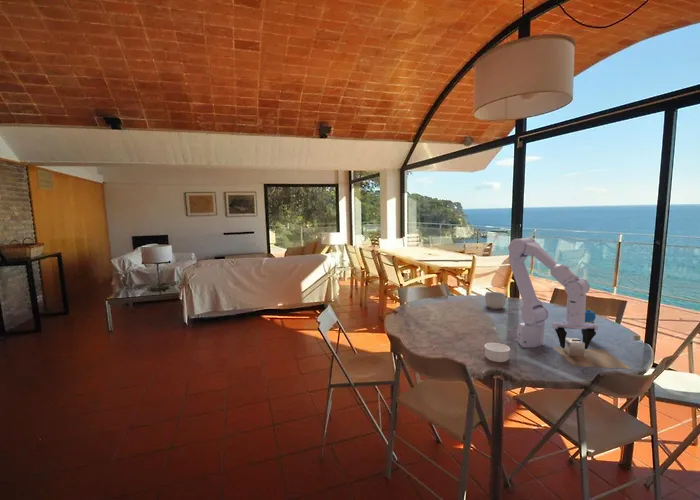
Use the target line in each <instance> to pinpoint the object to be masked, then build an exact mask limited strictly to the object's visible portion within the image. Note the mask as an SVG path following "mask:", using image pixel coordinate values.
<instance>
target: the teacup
mask: <svg viewBox="0 0 700 500" xmlns="http://www.w3.org/2000/svg"><path fill="white" fill-rule="evenodd" d="M484 296H485V297H484V298H485V300H484V301H485V305H486V306H487V307H488V308H489V309H493V310H501V309H503V308H504V307H505V305H506V301H507V300H506V298H507V297H506V296H507V295H506V294H505V293H503V292H498V291H486V292H485V293H484Z"/></svg>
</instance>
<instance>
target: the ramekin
mask: <svg viewBox="0 0 700 500" xmlns="http://www.w3.org/2000/svg"><path fill="white" fill-rule="evenodd" d="M483 347H484V352H485V353H484V354H485V358H486V359H487V360H490V361H491V362H495V363H505V362H507V361H508V360H509V358H510V357H509V356H510V351H511V347H509V346H508V345H507V344H503V343H499V342H487V343H485V344H484V346H483Z"/></svg>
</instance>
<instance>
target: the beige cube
mask: <svg viewBox="0 0 700 500" xmlns="http://www.w3.org/2000/svg"><path fill="white" fill-rule="evenodd" d="M582 341H583V340H582V339H580V338H577V337H566V339H565V348H563V351H564V352H565V353H567V354H568V355H569V356H583V357H584V352H585V343H584V342H582Z"/></svg>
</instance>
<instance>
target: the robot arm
mask: <svg viewBox="0 0 700 500" xmlns="http://www.w3.org/2000/svg"><path fill="white" fill-rule="evenodd" d="M507 248H508V252H509V254H508V263H509V266H510V269H511V272H512V274H513V277H514V280H515V283H516V287H517V289H518V293H519V294H520V297H521V300H522V303H521V305H520V311H521V319H522V321H523V322H519V323H517V327H516V328H517V331H516V335H517V336H516V342H517V343H518V344H519V346H521V348H530V349H531V348H532V349H533V348H536V347H540V346H544V345H545V343H544V342H545V323H546V320H548V318H549V311H548V310H547V308H546V307H545V306H544V304H543V302H542V301H541V300H539V298H538V297H537V294H536V292H535V289H534V286H533V284H532V281H531V278H530V275H529V272H528V270H527V267H526V263H525V261H526V259H527V258H528V257H529V256H530V257H534V258H535V259H537V260H538V261H539V262H540V263H541V264H542V265H544V266H545V267H546V268H547V269H549V270H550V276H551V277H553V278H554V279H555V280H556V281H557V282H558V283H559V284H560V285H561V286H562V287H564V292H565V294H566V295H567V298H566V311H565V312H566V317H565V321H553V322H552V329H554V330H555V333H556V335H557V338H558V341H559V347H560V348H565V339H566V338H567V334H568V332H567V331H566V330H567V329H568V330H581V329H582V332H581V334H582V333H583V335H582V340H581V341H582V342H584V343H585V349H589V346H590V343H591V341H592V340H593V338H594V337H595V336H596V334H597V332H596V331H599V325H598V324H597V323H594V324H592V323H585V310H586V307H587V306H586V305H587V293H589V291H590V288H591V287H590V283H588V281H587V280H586V279H585V278H580V276H579V275H576V274H575V273H574V272H573V271H572V270H571V269H570V266H568V265H565V264H561V263H558V262H557V261H556V260H554V259H553V257H552V256H551V255H549V253H548V252H547V251H545V249H544V248H542V247H541V244H540V243H539V242H537V241H536V240H535V239H534V238H532V237H525V238H524V237H523V238H514V239H512V240H511V241H510V243H509V244H508V247H507Z"/></svg>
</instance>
